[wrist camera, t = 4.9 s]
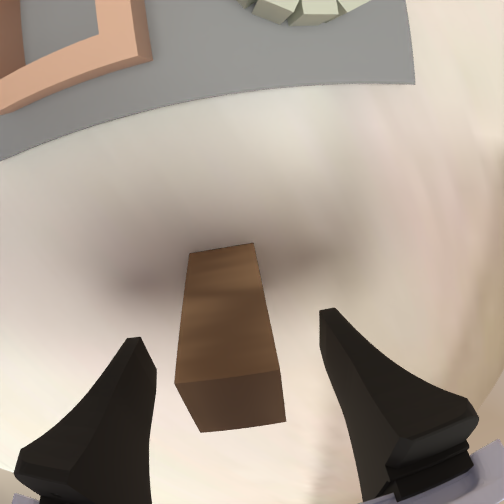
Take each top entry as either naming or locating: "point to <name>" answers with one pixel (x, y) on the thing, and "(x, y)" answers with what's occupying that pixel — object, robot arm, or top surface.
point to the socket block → (181, 55)
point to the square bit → (227, 344)
